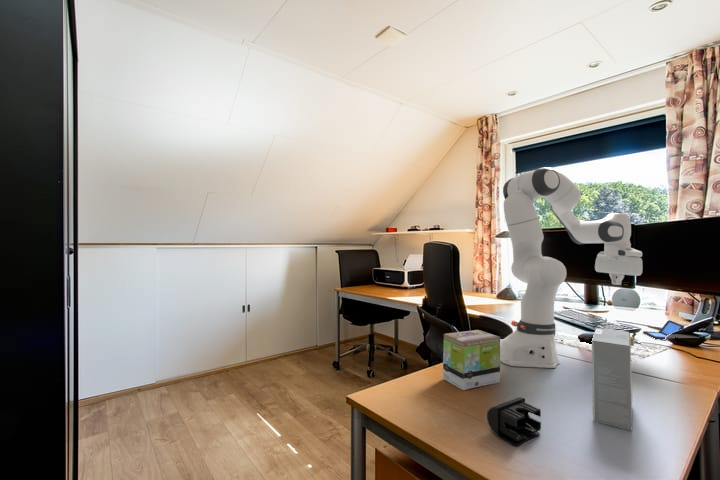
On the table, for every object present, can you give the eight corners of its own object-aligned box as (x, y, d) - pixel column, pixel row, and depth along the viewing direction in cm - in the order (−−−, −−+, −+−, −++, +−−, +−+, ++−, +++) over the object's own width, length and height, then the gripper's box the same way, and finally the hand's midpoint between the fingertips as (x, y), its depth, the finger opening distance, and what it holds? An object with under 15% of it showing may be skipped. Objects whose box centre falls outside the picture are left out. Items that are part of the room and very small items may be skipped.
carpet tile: (667, 351, 136) (667, 346, 136) (632, 364, 121) (632, 358, 121) (568, 330, 170) (568, 326, 170) (532, 338, 156) (532, 334, 156)
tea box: (464, 392, 96) (464, 341, 97) (442, 379, 105) (442, 333, 106) (501, 383, 103) (501, 335, 103) (477, 371, 112) (477, 328, 112)
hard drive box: (596, 398, 92) (596, 327, 93) (632, 406, 87) (631, 331, 88) (592, 421, 80) (591, 339, 81) (632, 432, 75) (631, 345, 76)
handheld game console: (642, 333, 162) (641, 318, 162) (669, 335, 159) (669, 319, 159) (655, 340, 150) (655, 324, 151) (685, 342, 147) (685, 325, 147)
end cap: (513, 420, 81) (513, 392, 81) (542, 435, 74) (541, 405, 75) (486, 432, 76) (486, 402, 76) (514, 448, 69) (514, 416, 70)
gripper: (591, 251, 149) (590, 281, 148) (631, 251, 128) (630, 287, 128) (604, 251, 149) (603, 282, 149) (646, 252, 129) (645, 287, 128)
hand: (616, 284), depth 138 cm, fingers closed
